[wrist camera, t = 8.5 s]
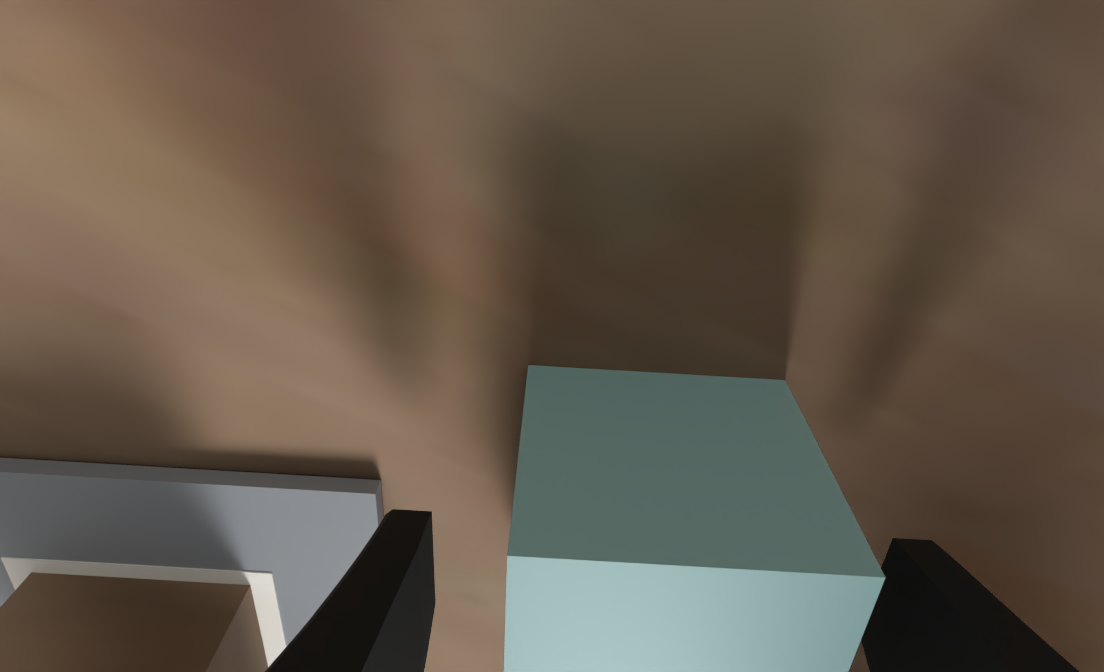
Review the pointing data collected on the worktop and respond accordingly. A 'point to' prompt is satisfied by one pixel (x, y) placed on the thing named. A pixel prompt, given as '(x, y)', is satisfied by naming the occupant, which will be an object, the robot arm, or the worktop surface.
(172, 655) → the walnut block
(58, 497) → the grey square plate
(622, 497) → the teal block
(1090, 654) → the worktop surface
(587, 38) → the worktop surface
